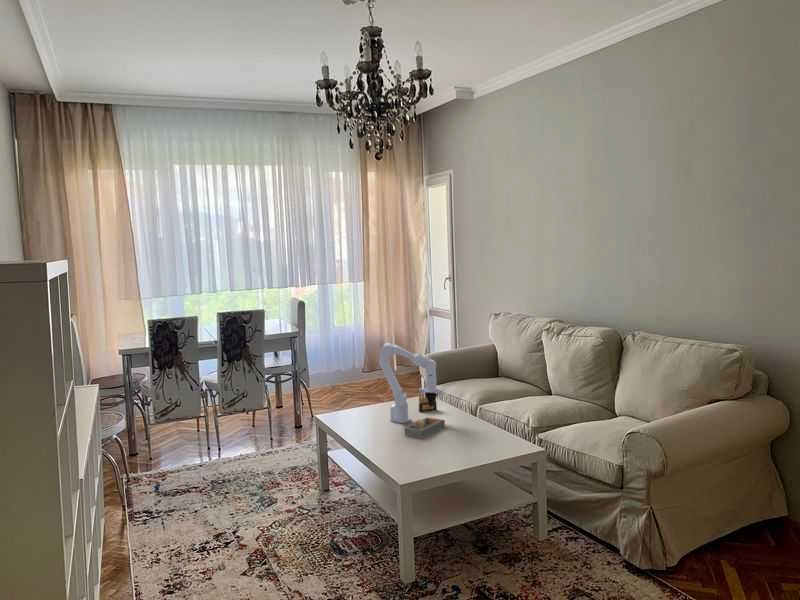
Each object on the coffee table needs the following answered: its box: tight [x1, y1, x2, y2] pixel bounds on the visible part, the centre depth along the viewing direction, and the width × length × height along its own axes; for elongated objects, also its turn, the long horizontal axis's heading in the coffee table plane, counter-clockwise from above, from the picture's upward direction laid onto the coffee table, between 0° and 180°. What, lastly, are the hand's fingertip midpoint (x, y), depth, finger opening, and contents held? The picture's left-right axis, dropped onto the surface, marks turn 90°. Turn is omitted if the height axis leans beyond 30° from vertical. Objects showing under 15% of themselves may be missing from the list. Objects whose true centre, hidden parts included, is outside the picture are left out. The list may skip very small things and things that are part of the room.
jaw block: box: [413, 419, 425, 430], centre depth 319 cm, size 4×4×6 cm
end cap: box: [424, 416, 446, 428], centre depth 331 cm, size 12×1×4 cm, turn 55°
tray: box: [404, 417, 444, 439], centre depth 322 cm, size 10×21×4 cm, turn 145°
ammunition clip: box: [418, 392, 438, 413], centre depth 360 cm, size 11×2×12 cm, turn 106°
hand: (431, 406), depth 340 cm, fingers closed
